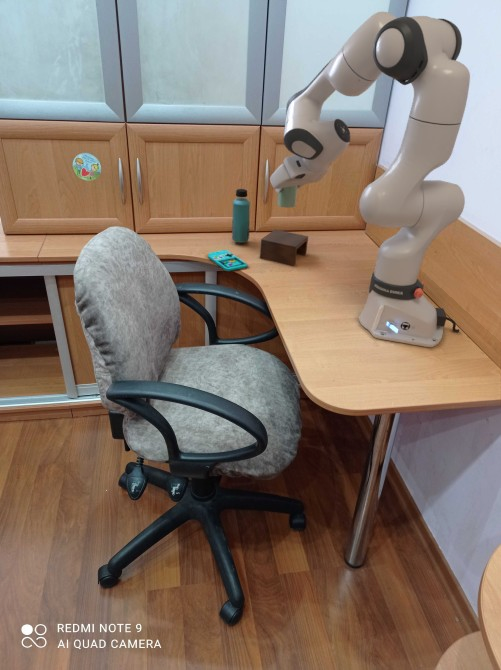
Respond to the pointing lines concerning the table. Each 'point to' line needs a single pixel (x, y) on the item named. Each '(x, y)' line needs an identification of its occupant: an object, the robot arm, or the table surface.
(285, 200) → the tumbler
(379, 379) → the table surface
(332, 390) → the table surface
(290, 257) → the stand
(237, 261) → the handheld gaming console
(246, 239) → the beverage bottle
